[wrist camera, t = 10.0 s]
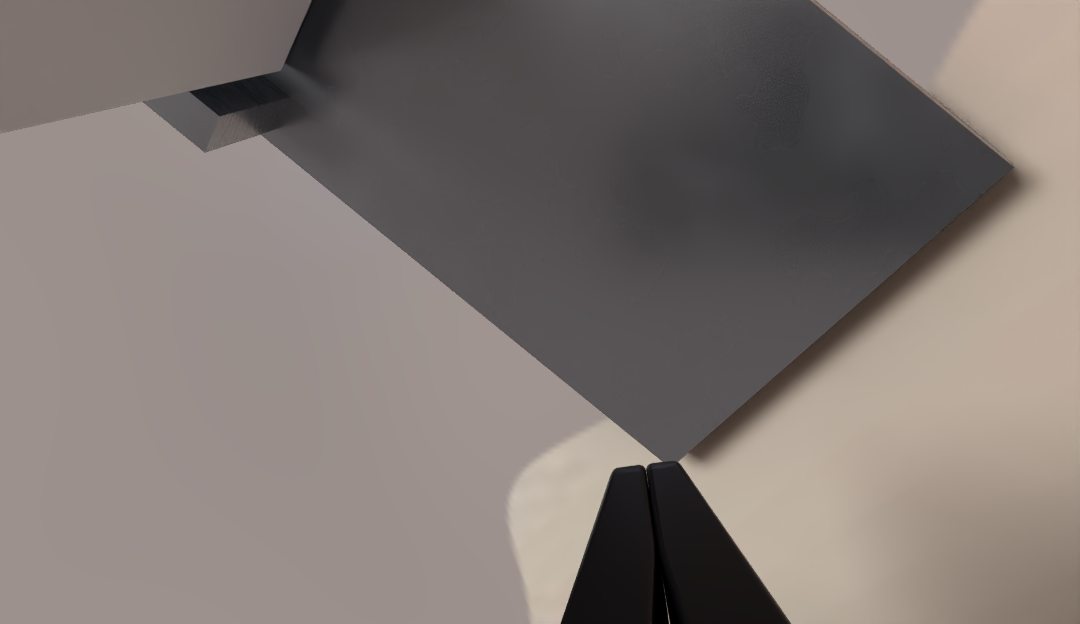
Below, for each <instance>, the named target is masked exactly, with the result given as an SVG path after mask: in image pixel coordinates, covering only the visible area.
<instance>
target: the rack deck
mask: <svg viewBox="0 0 1080 624" xmlns="http://www.w3.org/2000/svg"><path fill="white" fill-rule="evenodd" d="M143 103H145V104H146V105H147V106H148V107H150V108H151V109H152V110H153V111H154V112H156V113H157V114H158V115H159V116H161V117H162V118H163V119H164V120H166V121H167V122H168V123H169V124H170V125H172V126H173V127H174V128H176V129H177V130H178V131H179V132H180V133H182V134H183V135H184V136H185V137H186V138H188V139H189V140H190V141H191V142H193V143H194V144H195V145H196V146H198V147H199V148H200V149H201V150H202V151H204V152H208V151H211V150H214V149H217V148H220V147H223V146H226V145H229V144H232V143H236V142H238V141H241V140H245V139H248V138H251V137H254V136H257V135H260V134H261V135H262V136H263V137H264V138H266V139H267V140H268V141H269V142H270V143H272V144H273V145H274V146H275V147H277V148H278V149H279V150H280V151H282V152H283V153H284V154H285V155H286V156H288V157H289V158H290V159H292V160H293V161H294V162H295V163H296V164H298V165H299V166H300V167H301V168H302V169H304V170H305V171H306V172H307V173H309V174H310V175H311V176H312V177H313V178H315V179H316V180H317V181H318V182H320V183H321V184H322V185H323V186H325V187H326V188H327V189H328V190H330V191H331V192H332V193H333V194H334V195H336V196H337V197H338V198H339V199H341V200H342V201H343V202H344V203H345V204H347V205H348V206H349V207H350V208H352V209H353V210H354V211H356V212H357V213H358V214H359V215H360V216H362V217H363V218H364V219H365V220H366V221H368V222H369V223H370V224H371V225H372V226H374V227H375V228H376V229H377V230H379V231H380V232H381V233H382V234H384V235H385V236H386V237H387V238H389V239H390V240H391V241H392V242H394V243H395V244H396V245H397V246H398V247H400V248H401V249H402V250H403V251H405V252H406V253H407V254H408V255H409V256H411V257H412V258H413V259H414V260H416V261H417V262H418V263H419V264H421V265H422V266H423V267H424V268H425V269H427V270H428V271H429V272H430V273H431V274H433V275H434V276H435V277H436V278H438V279H439V280H440V281H442V282H443V283H444V284H445V285H446V286H447V287H449V288H450V289H451V290H452V291H454V292H455V293H456V294H457V295H459V296H460V297H461V298H462V299H464V300H465V301H466V302H467V303H468V304H470V305H471V306H472V307H473V308H475V309H476V310H477V311H478V312H479V313H481V314H482V315H483V316H484V317H486V318H487V319H488V320H489V321H491V322H492V323H493V324H494V325H496V326H497V327H498V328H499V329H500V330H502V331H503V332H504V333H505V334H507V335H508V336H509V337H510V338H511V339H513V340H514V341H515V342H516V343H518V344H519V345H520V346H521V347H523V348H524V349H525V350H526V351H527V352H529V353H530V354H531V355H532V356H534V357H535V358H536V359H537V360H538V361H540V362H541V363H542V364H543V365H545V366H546V367H547V368H548V369H550V370H551V371H552V372H554V374H556V375H557V376H558V377H559V378H561V379H562V380H563V381H564V382H565V383H567V384H568V385H569V386H571V387H572V388H573V389H574V390H575V391H577V392H578V393H579V394H580V395H581V396H583V397H584V398H585V399H586V400H588V401H589V402H590V403H591V404H593V405H594V406H595V407H596V408H598V409H599V410H600V411H601V412H602V413H604V414H605V415H606V416H607V417H608V418H610V419H611V420H612V421H613V422H615V423H616V424H617V425H618V426H620V427H621V428H622V429H623V430H624V431H626V432H627V433H628V434H629V435H631V436H632V437H633V438H634V439H636V440H637V441H638V442H639V443H640V444H642V445H643V446H644V447H645V448H647V449H648V450H649V451H650V452H651V453H653V454H654V455H655V456H656V457H658V458H659V459H660V460H661V461H663V462H666V461H676V462H678V461H679V460H680V459H681V458H683V457H684V456H685V455H686V454H687V453H688V452H689V451H691V450H692V449H693V448H694V447H695V446H696V445H697V444H699V443H700V442H701V441H702V440H703V439H704V438H705V437H707V436H708V435H709V434H710V433H711V432H712V431H713V430H715V429H716V428H717V427H718V426H719V425H720V424H721V423H723V422H724V421H725V420H726V419H727V418H728V417H729V416H731V415H732V414H733V413H734V412H735V411H736V410H737V409H739V408H740V407H741V406H742V405H743V404H744V403H745V402H747V401H748V400H749V399H750V398H751V397H752V396H753V395H755V394H756V393H757V392H758V391H759V390H760V389H761V388H763V387H764V386H765V385H766V384H767V383H768V382H769V381H771V380H772V379H773V378H774V377H775V376H776V375H777V374H779V373H780V372H781V371H782V370H783V369H784V368H785V367H786V366H788V365H789V364H790V363H791V362H792V361H793V360H794V359H796V358H797V357H798V356H799V355H800V354H801V353H802V352H804V351H805V350H806V349H807V348H808V347H809V346H810V345H812V344H813V343H814V342H815V341H816V340H817V339H818V338H820V337H821V336H822V335H823V334H824V333H825V332H826V331H828V330H829V329H830V328H831V327H832V326H833V325H834V324H836V323H837V322H838V321H839V320H840V319H841V318H842V317H844V316H845V315H846V314H847V313H848V312H849V311H850V310H852V309H853V308H854V307H855V306H856V305H857V304H858V303H860V302H861V301H862V300H863V299H864V298H865V297H866V296H868V295H869V294H870V293H871V292H872V291H873V290H874V289H876V288H877V287H878V286H879V285H880V284H881V283H882V282H884V281H885V280H886V279H887V278H888V277H889V276H890V275H892V274H893V273H894V272H895V271H896V270H897V269H898V268H900V267H901V266H902V265H903V264H904V263H905V262H906V261H908V260H909V259H910V258H911V257H912V256H913V255H914V254H916V253H917V252H918V251H919V250H920V249H921V248H922V247H924V246H925V245H926V244H927V243H928V242H929V241H930V240H932V239H933V238H934V237H935V236H936V235H937V234H938V233H939V232H941V231H942V230H943V229H944V228H945V227H946V226H947V225H949V224H950V223H951V222H952V221H953V220H954V219H955V218H957V217H958V216H959V215H960V214H961V213H962V212H963V211H965V210H966V209H967V208H968V207H969V206H970V205H971V204H973V203H974V202H975V201H976V200H977V199H978V198H979V197H981V196H982V195H983V194H984V193H985V192H986V191H987V190H989V189H990V188H991V187H992V186H993V185H994V184H995V183H997V182H998V181H999V180H1000V179H1001V178H1002V177H1003V176H1005V175H1006V174H1007V173H1008V172H1009V171H1010V170H1011V169H1013V168H1014V167H1013V165H1012V164H1011V163H1010V162H1009V161H1008V159H1007V158H1006V157H1005V156H1004V155H1003V154H1002V153H1001V152H1000V151H998V150H997V149H996V148H995V147H994V146H992V145H991V144H990V143H989V142H987V141H986V140H985V139H984V138H983V137H981V136H980V135H979V134H978V133H976V132H975V131H974V130H973V129H972V128H970V127H969V126H968V125H967V124H966V123H964V122H963V121H962V120H961V119H959V118H958V117H957V116H956V115H955V114H953V113H952V112H951V111H950V110H948V109H947V108H946V107H945V106H944V105H942V104H941V103H940V102H939V101H937V100H936V99H935V98H934V97H933V96H931V95H930V94H929V93H928V92H926V91H925V90H924V89H923V88H921V87H920V86H919V85H918V84H917V83H915V82H914V81H913V80H912V79H911V78H909V77H908V76H907V75H906V74H905V73H903V72H902V71H901V70H899V69H898V68H897V67H896V66H895V65H894V64H892V63H891V62H890V61H889V60H887V59H886V58H885V57H884V56H882V55H881V54H880V53H879V52H878V51H876V50H875V49H874V48H873V47H872V46H870V45H869V44H868V43H867V42H865V41H864V40H863V39H862V38H861V37H859V36H858V35H857V34H856V33H854V32H853V31H852V30H851V29H849V28H848V27H847V26H846V25H845V24H844V23H842V22H841V21H840V20H839V19H837V18H836V17H835V16H834V15H833V14H831V13H830V12H829V11H828V10H826V9H825V8H824V7H823V6H822V5H820V4H819V3H818V2H817V1H815V0H312V1H311V3H310V6H309V8H308V10H307V13H306V15H305V17H304V19H303V22H302V24H301V26H300V28H299V31H298V33H297V35H296V38H295V40H294V42H293V44H292V47H291V49H290V51H289V53H288V56H287V58H286V60H285V63H284V65H283V67H282V69H281V71H277V72H273V73H268V74H264V75H259V76H255V77H250V78H246V79H241V80H237V81H232V82H228V83H224V84H219V85H215V86H210V87H206V88H201V89H197V90H192V91H188V92H183V93H179V94H174V95H170V96H165V97H161V98H156V99H152V100H148V101H143Z"/></svg>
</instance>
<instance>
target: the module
mask: <svg viewBox="0 0 1080 624" xmlns="http://www.w3.org/2000/svg"><path fill="white" fill-rule="evenodd" d="M311 1H312V0H0V133H4V132H9V131H13V130H18V129H22V128H26V127H31V126H35V125H40V124H45V123H49V122H54V121H58V120H62V119H67V118H71V117H76V116H80V115H85V114H89V113H94V112H98V111H102V110H107V109H112V108H116V107H120V106H125V105H130V104H134V103H138V102H143V101H148V100H152V99H156V98H161V97H165V96H170V95H174V94H179V93H183V92H188V91H192V90H197V89H201V88H206V87H210V86H215V85H219V84H224V83H228V82H232V81H237V80H241V79H246V78H250V77H255V76H259V75H264V74H268V73H273V72H277V71H281V69H282V67H283V65H284V63H285V60H286V58H287V56H288V53H289V51H290V49H291V47H292V44H293V42H294V40H295V38H296V35H297V33H298V31H299V28H300V26H301V24H302V22H303V19H304V17H305V15H306V13H307V10H308V8H309V6H310V3H311Z"/></svg>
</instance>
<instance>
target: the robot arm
mask: <svg viewBox="0 0 1080 624" xmlns="http://www.w3.org/2000/svg"><path fill="white" fill-rule="evenodd" d="M646 472H647V474H646ZM647 479H648V480H647ZM648 486H649V487H648ZM663 584H664V585H663ZM664 590H665V591H664ZM665 596H666V598H665ZM666 602H667V605H666ZM667 608H668V611H667ZM668 614H669V619H668ZM669 620H670V624H791V623H790V621H789V620H788V618H787V617H786V615H785V614H784V613H783V611H782V610H781V608H780V607H779V605H778V604H777V603H776V601H775V600H774V598H773V597H772V595H771V594H770V592H769V591H768V590H767V588H766V587H765V585H764V584H763V582H762V581H761V579H760V578H759V577H758V575H757V574H756V572H755V571H754V569H753V568H752V567H751V565H750V564H749V562H748V561H747V559H746V558H745V556H744V555H743V554H742V552H741V551H740V549H739V548H738V546H737V545H736V544H735V542H734V541H733V539H732V538H731V536H730V535H729V533H728V532H727V531H726V529H725V528H724V526H723V525H722V523H721V522H720V520H719V519H718V518H717V516H716V515H715V513H714V512H713V510H712V509H711V508H710V506H709V505H708V503H707V502H706V500H705V499H704V497H703V496H702V495H701V493H700V492H699V490H698V489H697V487H696V486H695V484H694V483H693V482H692V480H691V479H690V477H689V476H688V474H687V473H686V472H685V470H684V469H683V467H682V466H681V465H680V464H679V463H678V462H676V461H666V462H659V463H651V464H649V465H648V466H647V468H646V469H645V468H644V467H643V466H641V465H635V466H628V467H620V468H616V469H614V470H613V472H612V474H611V476H610V479H609V482H608V485H607V488H606V491H605V494H604V497H603V499H602V502H601V505H600V508H599V511H598V514H597V517H596V520H595V523H594V526H593V529H592V532H591V535H590V538H589V541H588V544H587V547H586V550H585V553H584V556H583V559H582V562H581V565H580V568H579V571H578V574H577V577H576V580H575V582H574V585H573V588H572V591H571V594H570V597H569V600H568V603H567V606H566V609H565V612H564V615H563V618H562V621H561V624H669Z"/></svg>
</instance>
